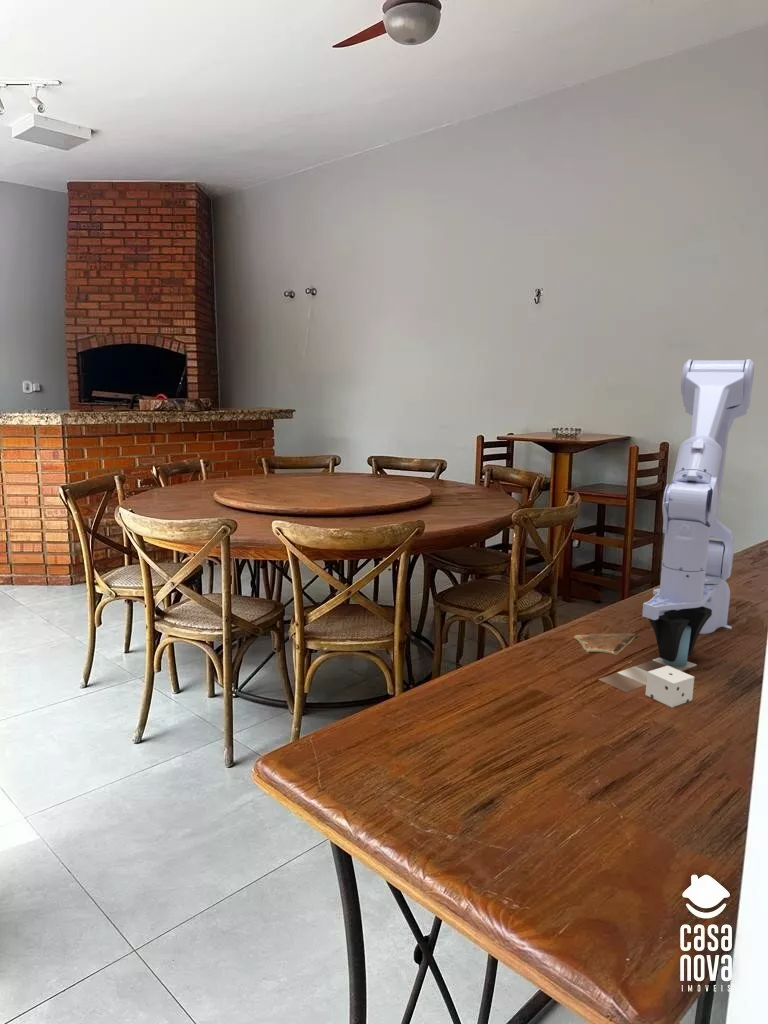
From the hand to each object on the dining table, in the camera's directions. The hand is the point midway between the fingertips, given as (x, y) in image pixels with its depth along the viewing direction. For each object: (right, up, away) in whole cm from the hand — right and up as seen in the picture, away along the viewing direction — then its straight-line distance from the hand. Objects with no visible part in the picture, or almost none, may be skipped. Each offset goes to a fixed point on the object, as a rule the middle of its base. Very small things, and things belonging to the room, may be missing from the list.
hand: (675, 656), depth 99 cm
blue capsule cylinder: (0, -1, 0) cm, 1 cm away
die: (-5, -4, -10) cm, 12 cm away
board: (-5, -2, -3) cm, 6 cm away
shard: (-8, -1, +9) cm, 12 cm away
